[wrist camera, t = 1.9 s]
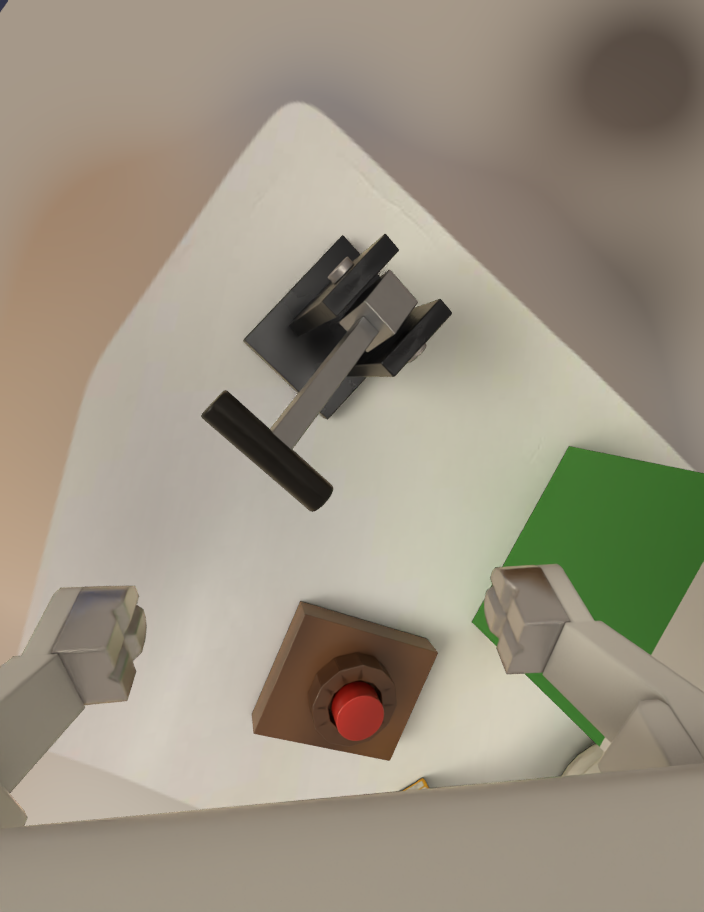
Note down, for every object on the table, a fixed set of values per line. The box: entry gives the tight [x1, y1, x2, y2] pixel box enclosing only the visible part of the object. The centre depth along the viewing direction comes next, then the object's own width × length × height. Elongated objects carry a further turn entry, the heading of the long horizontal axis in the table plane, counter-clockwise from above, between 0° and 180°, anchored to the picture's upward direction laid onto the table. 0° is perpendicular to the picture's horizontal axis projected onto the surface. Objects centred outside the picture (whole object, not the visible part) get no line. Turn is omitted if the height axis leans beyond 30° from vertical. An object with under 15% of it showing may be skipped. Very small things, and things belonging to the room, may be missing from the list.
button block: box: [252, 601, 438, 761], centre depth 38 cm, size 12×10×4 cm
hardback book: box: [472, 446, 704, 752], centre depth 32 cm, size 18×7×24 cm, turn 150°
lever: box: [201, 270, 418, 512], centre depth 22 cm, size 12×6×2 cm, turn 136°
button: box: [331, 682, 384, 741], centre depth 36 cm, size 4×4×2 cm
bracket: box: [243, 234, 452, 419], centre depth 29 cm, size 10×8×13 cm
